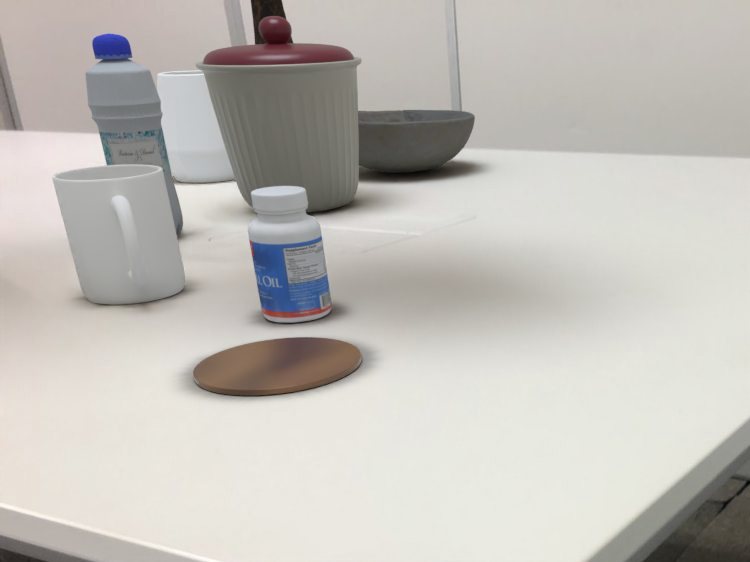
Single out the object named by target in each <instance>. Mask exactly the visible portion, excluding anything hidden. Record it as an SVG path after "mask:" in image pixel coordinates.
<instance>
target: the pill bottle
mask: <svg viewBox="0 0 750 562" xmlns="http://www.w3.org/2000/svg"><path fill="white" fill-rule="evenodd" d="M251 197H252V207H253V208H252V207H251V208H252V209H253V211H254V212H255V213H256V214H257V217H256V218H255V219H253V220H252V221H251V222H250V223H249V225H248V227H247V235H248V241H249V242H248V243H249V247H250V253H251V258H252V263H253V270H254V275H255V281H256V287H257V293H258V297H259V304H260V310H261V313H262V315H263V317H264V318H265V319H267V320H268V321H271V322H274V323H285V324H286V323H290V324H291V323H302V322H303V323H304V322H310V321H313V320H318V319H321V318H324V317H325V316H327V315H328V314H330V312H331V311H332V307H333V306H332V297H331V289H330V282H329V275H328V270H327V269H328V268H327V262H326V256H325V248H324V240H323V235H322V228H321V224H320V222H319V221H318V219H317V218H315V217H314V216H312V215H309V214H308V213H306V210H305V209H307V208H308V200H307V195H306V190H305V188H303V187H298V186H274V187H265V188H260V189H256V190H253V191H252V192H251Z"/></svg>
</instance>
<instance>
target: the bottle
mask: <svg viewBox="0 0 750 562" xmlns="http://www.w3.org/2000/svg"><path fill="white" fill-rule="evenodd" d="M91 43H92V44H91V45H92V50H93V55H94V59H95V60H100V61H98V62H96V63H95V64H94V65H92V66H91V67H89V68H88V69H87V70H85V72H84V74H85V75H84V76H85V85H86V94H87V95H86V96H87V106H88V107H89V110H90V112H91V119H92V120H93V121H94V123H95V124H96V126H97V130H98V133H99V137H100V143H101V147H102V150H103V155H104V159H105V163H106V166H108V165H154V166H159V167H161V168H162V169H163V173H164V178H165V183H166V187H167V192H168V197H169V202H170V206H171V211H172V216H173V220H174V225H175V230H176V234H177V237H178V236H179V235H181V233H182V231H183V228H184V227H183V226H184V218H183V213H182V212H183V211H182V208H181V203H180V199H179V196H178V192H177V189H176V186H175V183H174V179H173V178H174V177H173V175H172V174H171V168H170V164H169V159H168V154H167V149H166V145H165V140H164V135H163V130H162V126H161V118H162V115H163V113H162V112H161V100H160V98H159V95H158V92H157V86H156V84H155V81H154V79H153V74H152V72H151V69H149V68H148V67H146V66H144V65H143V64H140V63H138V62H136V61H134V60H132V59H133V52H132V48H131V44H130V41H129V40H128V38H127V37H125V36H124V35H120V34H116V33H104V34H100V35H97V36H95V37H93V39H92V41H91Z"/></svg>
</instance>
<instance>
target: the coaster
mask: <svg viewBox="0 0 750 562" xmlns="http://www.w3.org/2000/svg"><path fill="white" fill-rule="evenodd" d="M361 363H362V352H361V351H360V349H359V348H358V347H357V346H355V345H354V344H352V343H351V342H347V341H344V340H339V339H335V338H329V337H328V338H327V337H316V336H315V337H314V336H313V337H312V336H298V337H282V338H271V339H265V340H260V341H254V342H249V343H244V344H241V345H236V346H233V347H230V348H227V349H224V350H220V351H218V352H216V353H214V354H211V355H209V356H207V357H205V358H204V359H203V360H201V361H199V363H197V364H196V366H195V367H194V368H193V371H192V374H193V375H192V376H193V380H194V382H195V384H196V385H197V386H199V387H200V388H202V389H204V390H206V391H209V392H212V393H217V394H221V395H228V396H229V395H230V396H247V397H249V396H271V395H280V394H281V395H282V394H288V393H293V392H300V391H305V390H310V389H313V388H317V387H320V386H324V385H328V384H330V383H333V382H336V381H338V380H340V379H343V378H345V377H346V376H348V375H351V374H352V373H353V372H354V371H356V369H358V368H359V367H360V365H361Z"/></svg>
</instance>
